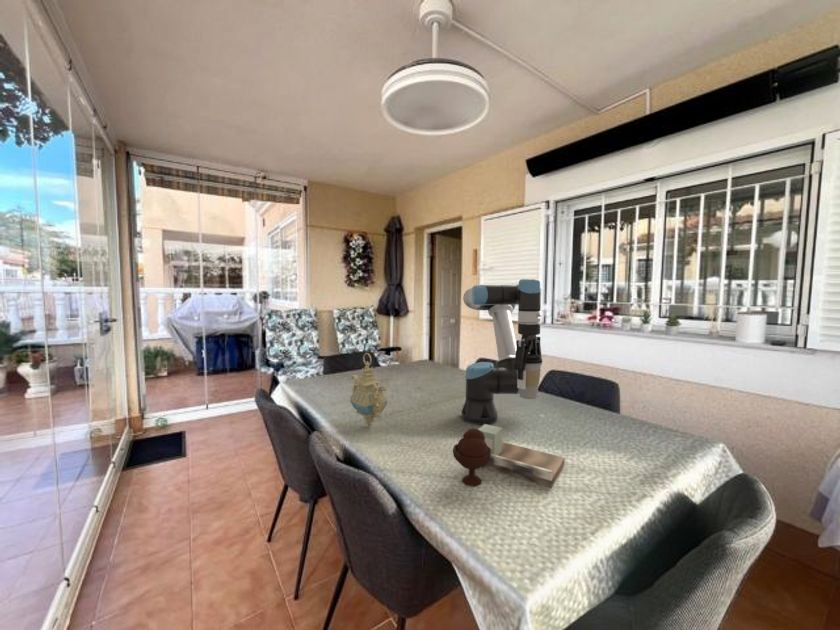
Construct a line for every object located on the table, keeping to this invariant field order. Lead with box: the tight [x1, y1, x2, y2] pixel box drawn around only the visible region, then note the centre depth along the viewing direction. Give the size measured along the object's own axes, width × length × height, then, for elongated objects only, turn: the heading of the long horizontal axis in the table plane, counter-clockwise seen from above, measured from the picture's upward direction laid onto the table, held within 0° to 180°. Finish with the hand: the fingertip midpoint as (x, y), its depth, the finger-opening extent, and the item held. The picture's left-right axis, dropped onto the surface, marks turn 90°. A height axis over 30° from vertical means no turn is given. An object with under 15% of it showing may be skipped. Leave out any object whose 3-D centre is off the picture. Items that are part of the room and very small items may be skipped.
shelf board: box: [482, 441, 566, 489], centre depth 112 cm, size 24×16×4 cm
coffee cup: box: [517, 353, 543, 400], centre depth 127 cm, size 9×9×15 cm
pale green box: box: [477, 424, 503, 455], centre depth 115 cm, size 6×6×8 cm
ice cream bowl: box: [452, 428, 491, 487], centre depth 102 cm, size 11×11×15 cm
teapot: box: [349, 352, 388, 428], centre depth 141 cm, size 24×12×30 cm, turn 39°
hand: (528, 385), depth 127 cm, fingers closed on coffee cup, 9 cm apart
